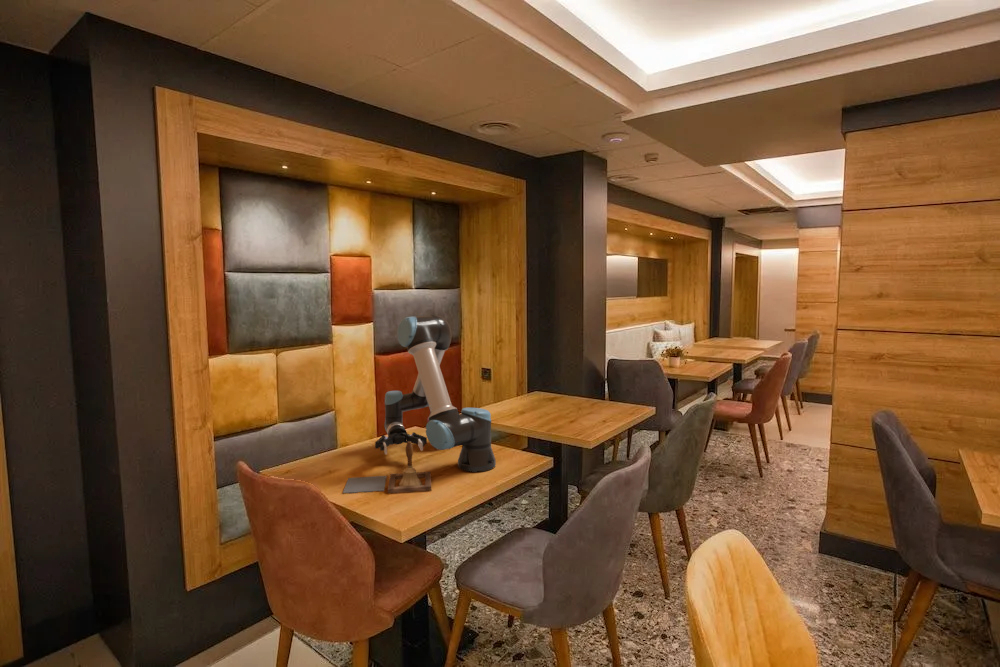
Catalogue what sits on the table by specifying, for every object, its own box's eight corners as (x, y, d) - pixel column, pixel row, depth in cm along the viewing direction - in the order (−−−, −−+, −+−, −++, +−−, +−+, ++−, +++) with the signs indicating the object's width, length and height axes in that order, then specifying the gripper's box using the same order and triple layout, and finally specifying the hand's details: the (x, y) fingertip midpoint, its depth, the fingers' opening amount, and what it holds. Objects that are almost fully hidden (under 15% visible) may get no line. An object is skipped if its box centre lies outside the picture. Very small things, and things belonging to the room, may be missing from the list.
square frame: (430, 475, 194) (430, 471, 194) (431, 490, 180) (431, 486, 180) (390, 477, 192) (390, 473, 192) (387, 493, 177) (387, 489, 177)
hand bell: (425, 485, 184) (424, 442, 183) (403, 490, 180) (401, 446, 179) (416, 478, 192) (416, 436, 190) (395, 482, 187) (394, 440, 186)
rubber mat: (386, 476, 193) (386, 475, 193) (383, 491, 180) (383, 490, 180) (348, 479, 191) (348, 478, 191) (342, 493, 178) (342, 492, 178)
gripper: (426, 439, 219) (436, 455, 199) (366, 444, 211) (370, 462, 191) (426, 422, 218) (436, 436, 198) (366, 427, 210) (370, 442, 190)
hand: (404, 449), depth 195 cm, fingers open, 13 cm apart
